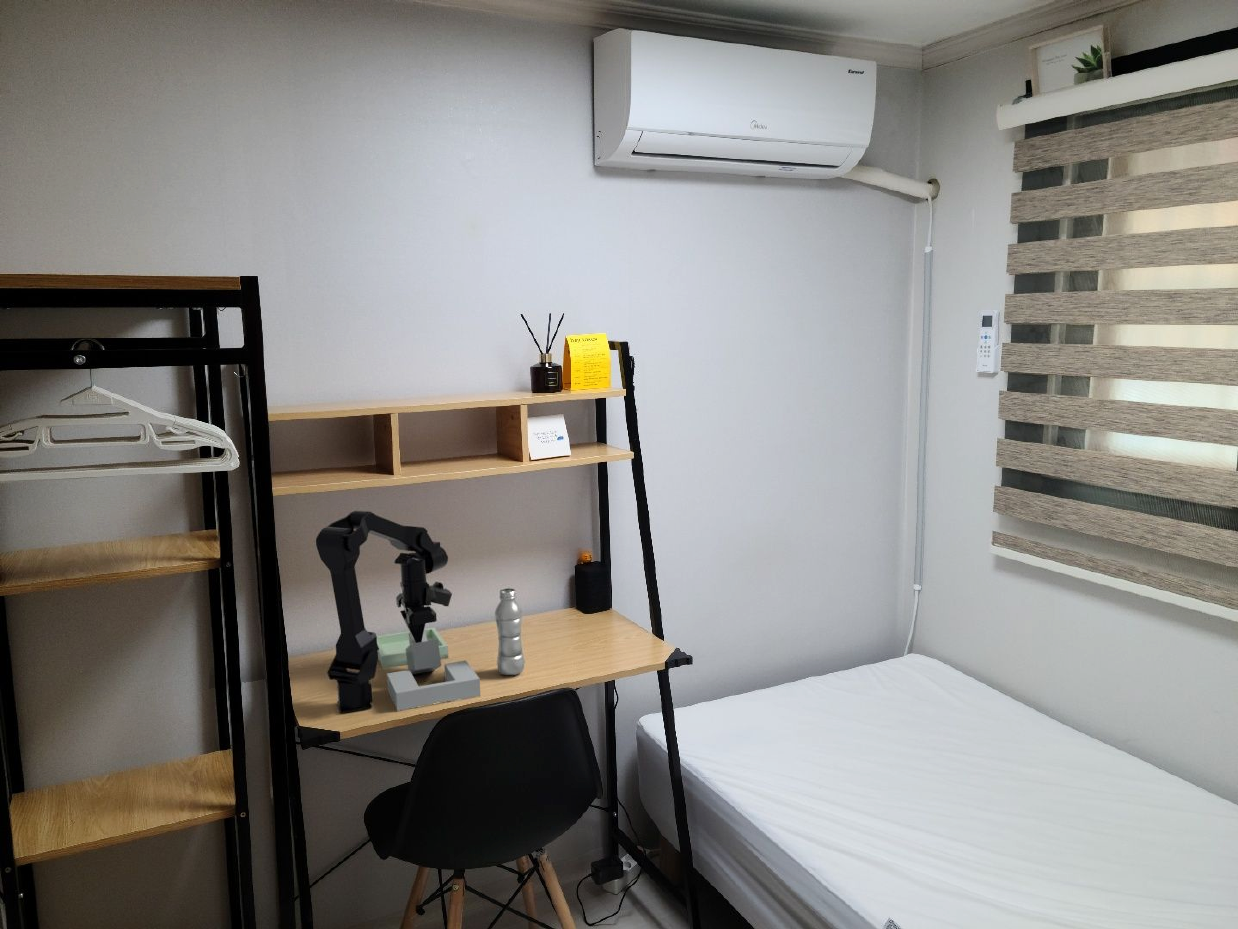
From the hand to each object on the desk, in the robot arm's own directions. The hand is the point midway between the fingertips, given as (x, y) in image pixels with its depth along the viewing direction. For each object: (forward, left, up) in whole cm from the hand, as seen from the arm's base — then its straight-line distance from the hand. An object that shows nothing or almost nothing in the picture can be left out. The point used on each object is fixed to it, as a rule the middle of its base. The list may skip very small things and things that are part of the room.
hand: (417, 642), depth 213 cm
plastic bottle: (+19, -13, -7) cm, 24 cm away
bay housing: (0, -16, -7) cm, 17 cm away
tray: (0, +12, -7) cm, 14 cm away
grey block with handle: (0, -7, -4) cm, 8 cm away
